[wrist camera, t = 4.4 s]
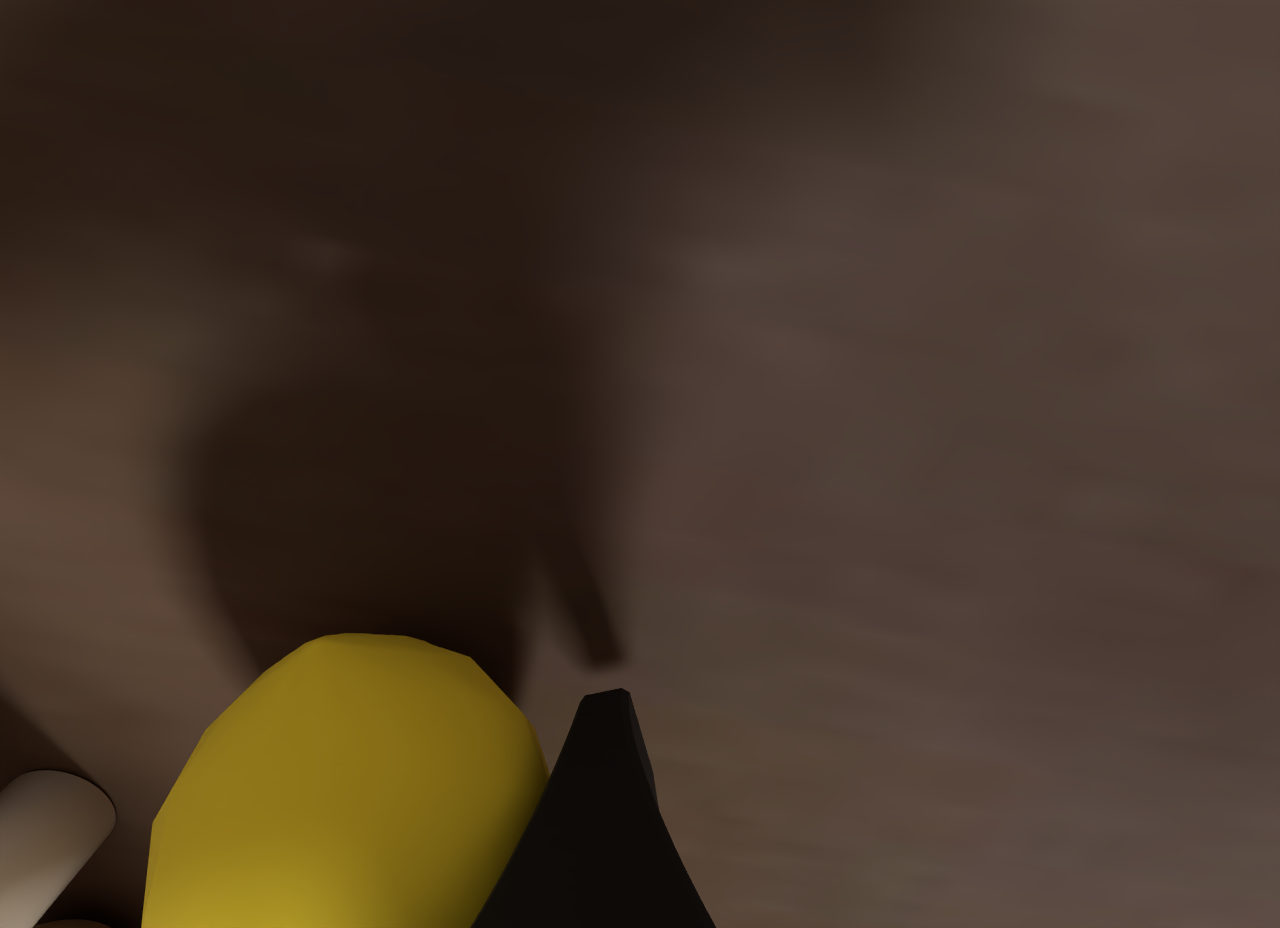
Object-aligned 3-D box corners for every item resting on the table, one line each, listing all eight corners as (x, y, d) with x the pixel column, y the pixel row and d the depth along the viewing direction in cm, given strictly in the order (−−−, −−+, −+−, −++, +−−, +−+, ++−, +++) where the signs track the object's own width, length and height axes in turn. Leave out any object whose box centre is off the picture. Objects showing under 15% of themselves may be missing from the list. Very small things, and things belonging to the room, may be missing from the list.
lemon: (244, 577, 11) (-106, 823, 6) (546, 541, 11) (461, 759, 6) (341, 890, 13) (138, 1293, 8) (603, 863, 13) (577, 1255, 8)
